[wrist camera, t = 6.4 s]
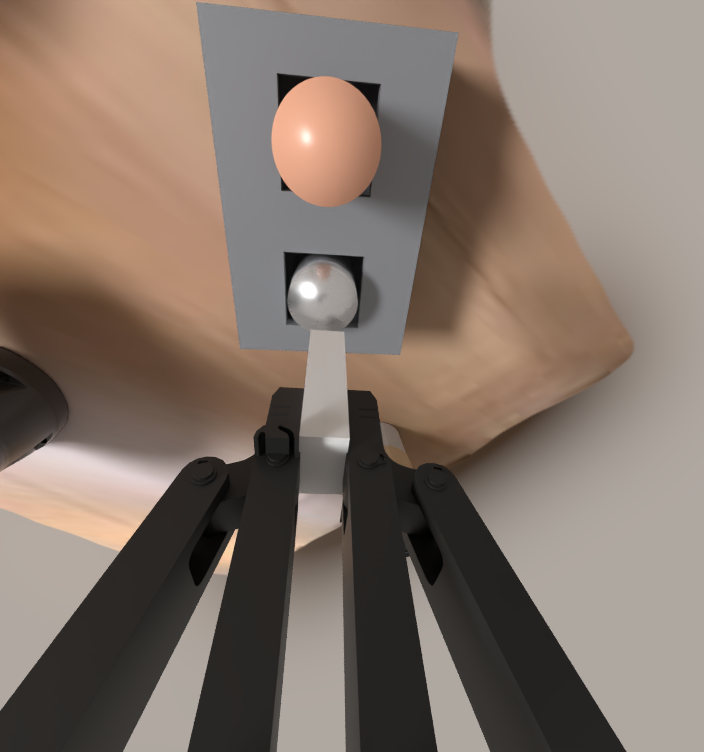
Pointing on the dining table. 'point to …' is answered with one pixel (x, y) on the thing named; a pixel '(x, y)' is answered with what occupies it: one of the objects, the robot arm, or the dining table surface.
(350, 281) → the silver rounded piece
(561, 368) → the dining table surface
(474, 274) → the dining table surface
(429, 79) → the block with square holes
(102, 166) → the dining table surface
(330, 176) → the brown egg
